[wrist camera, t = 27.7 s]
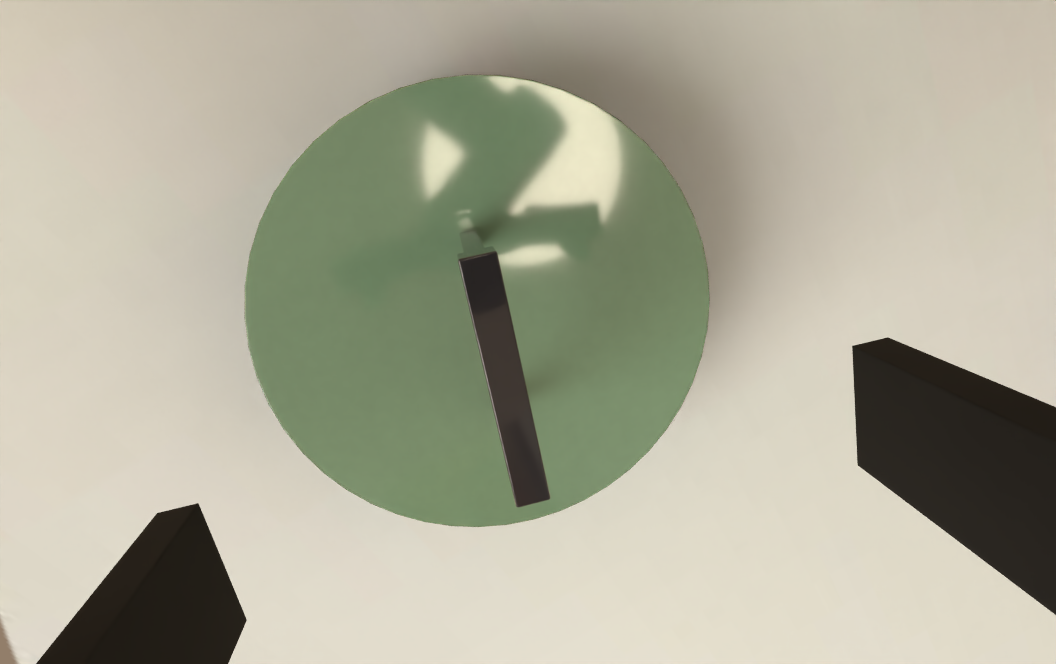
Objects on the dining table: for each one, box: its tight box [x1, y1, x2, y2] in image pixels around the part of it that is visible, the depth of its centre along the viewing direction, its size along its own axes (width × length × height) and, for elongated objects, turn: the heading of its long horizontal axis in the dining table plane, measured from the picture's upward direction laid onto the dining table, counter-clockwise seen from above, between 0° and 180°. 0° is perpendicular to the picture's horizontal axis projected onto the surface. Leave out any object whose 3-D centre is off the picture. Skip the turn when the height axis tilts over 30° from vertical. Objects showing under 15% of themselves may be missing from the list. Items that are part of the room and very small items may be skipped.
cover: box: [245, 75, 709, 527], centre depth 22 cm, size 19×19×9 cm
